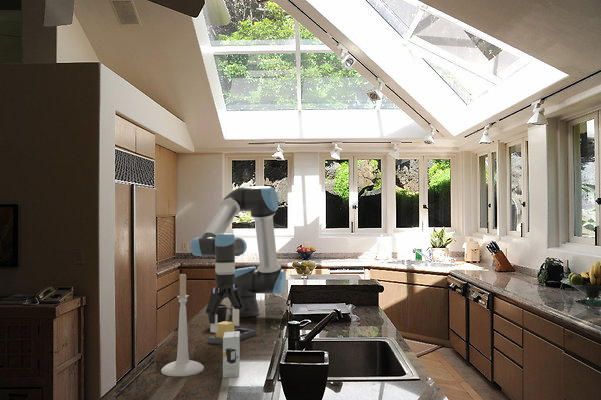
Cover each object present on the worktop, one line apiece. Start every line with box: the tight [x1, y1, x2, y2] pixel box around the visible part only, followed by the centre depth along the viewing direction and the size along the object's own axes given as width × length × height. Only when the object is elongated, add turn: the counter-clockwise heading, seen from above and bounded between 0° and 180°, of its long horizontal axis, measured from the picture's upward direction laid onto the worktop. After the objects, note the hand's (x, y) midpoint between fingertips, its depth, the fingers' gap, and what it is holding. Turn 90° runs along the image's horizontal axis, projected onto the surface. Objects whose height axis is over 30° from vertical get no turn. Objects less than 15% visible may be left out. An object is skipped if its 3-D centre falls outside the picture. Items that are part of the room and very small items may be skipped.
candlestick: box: [160, 273, 205, 377], centre depth 159 cm, size 13×13×30 cm
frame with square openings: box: [207, 327, 257, 346], centre depth 201 cm, size 20×8×2 cm, turn 150°
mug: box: [207, 303, 235, 324], centre depth 222 cm, size 8×12×10 cm
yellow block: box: [215, 320, 235, 338], centre depth 197 cm, size 5×5×7 cm
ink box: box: [222, 331, 241, 378], centre depth 155 cm, size 9×5×12 cm, turn 5°
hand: (225, 328), depth 197 cm, fingers open, 13 cm apart
